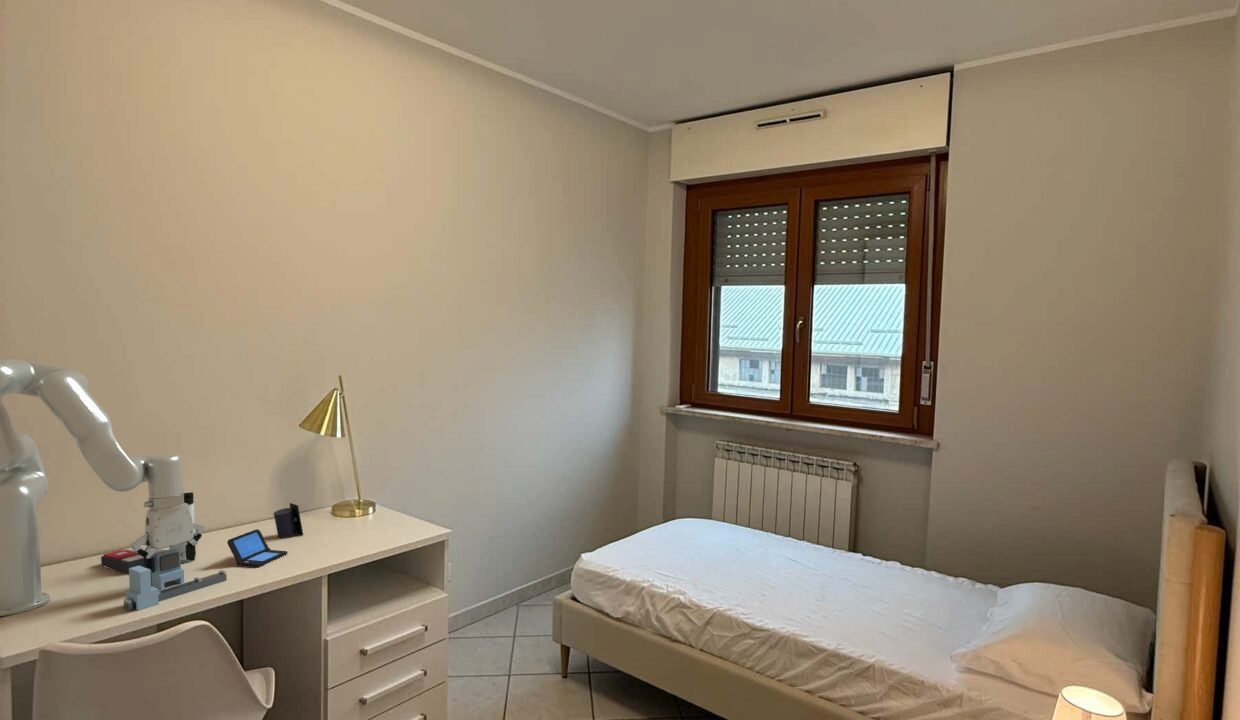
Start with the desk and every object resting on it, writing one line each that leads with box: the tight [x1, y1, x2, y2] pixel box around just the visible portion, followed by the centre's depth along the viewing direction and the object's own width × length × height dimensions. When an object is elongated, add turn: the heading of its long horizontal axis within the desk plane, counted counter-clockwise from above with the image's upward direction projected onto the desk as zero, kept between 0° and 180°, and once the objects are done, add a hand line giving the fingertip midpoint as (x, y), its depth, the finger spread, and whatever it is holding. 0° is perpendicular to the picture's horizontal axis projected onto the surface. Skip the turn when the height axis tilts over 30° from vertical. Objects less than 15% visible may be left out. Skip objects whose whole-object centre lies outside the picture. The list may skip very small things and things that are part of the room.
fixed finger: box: [125, 566, 159, 611], centre depth 164 cm, size 6×4×9 cm
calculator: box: [100, 544, 166, 575], centre depth 194 cm, size 11×4×15 cm
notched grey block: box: [152, 548, 185, 591], centre depth 177 cm, size 6×4×9 cm
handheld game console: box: [227, 529, 288, 568], centre depth 197 cm, size 12×11×7 cm
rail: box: [123, 569, 228, 612], centre depth 171 cm, size 23×2×3 cm, turn 149°
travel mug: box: [168, 492, 196, 565], centre depth 196 cm, size 6×7×20 cm
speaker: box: [273, 502, 304, 539], centre depth 220 cm, size 8×6×10 cm
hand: (171, 565), depth 177 cm, fingers open, 9 cm apart
